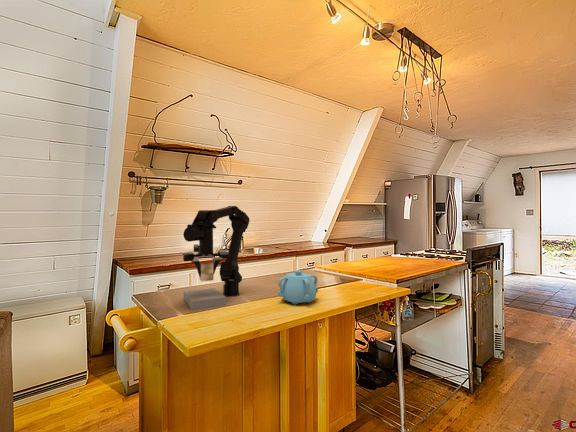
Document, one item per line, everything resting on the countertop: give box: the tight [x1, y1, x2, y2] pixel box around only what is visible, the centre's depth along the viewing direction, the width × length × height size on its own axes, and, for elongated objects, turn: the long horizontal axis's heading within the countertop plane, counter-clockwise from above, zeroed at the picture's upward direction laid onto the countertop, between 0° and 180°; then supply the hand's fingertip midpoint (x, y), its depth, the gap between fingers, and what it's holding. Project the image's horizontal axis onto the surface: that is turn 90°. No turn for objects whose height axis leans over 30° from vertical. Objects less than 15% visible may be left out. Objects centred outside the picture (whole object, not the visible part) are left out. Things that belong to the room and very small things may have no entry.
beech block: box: [199, 261, 214, 282], centre depth 135 cm, size 5×5×7 cm
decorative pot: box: [277, 269, 319, 305], centre depth 140 cm, size 16×16×14 cm
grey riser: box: [183, 287, 227, 311], centre depth 137 cm, size 14×18×4 cm
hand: (206, 276), depth 135 cm, fingers closed on beech block, 5 cm apart
